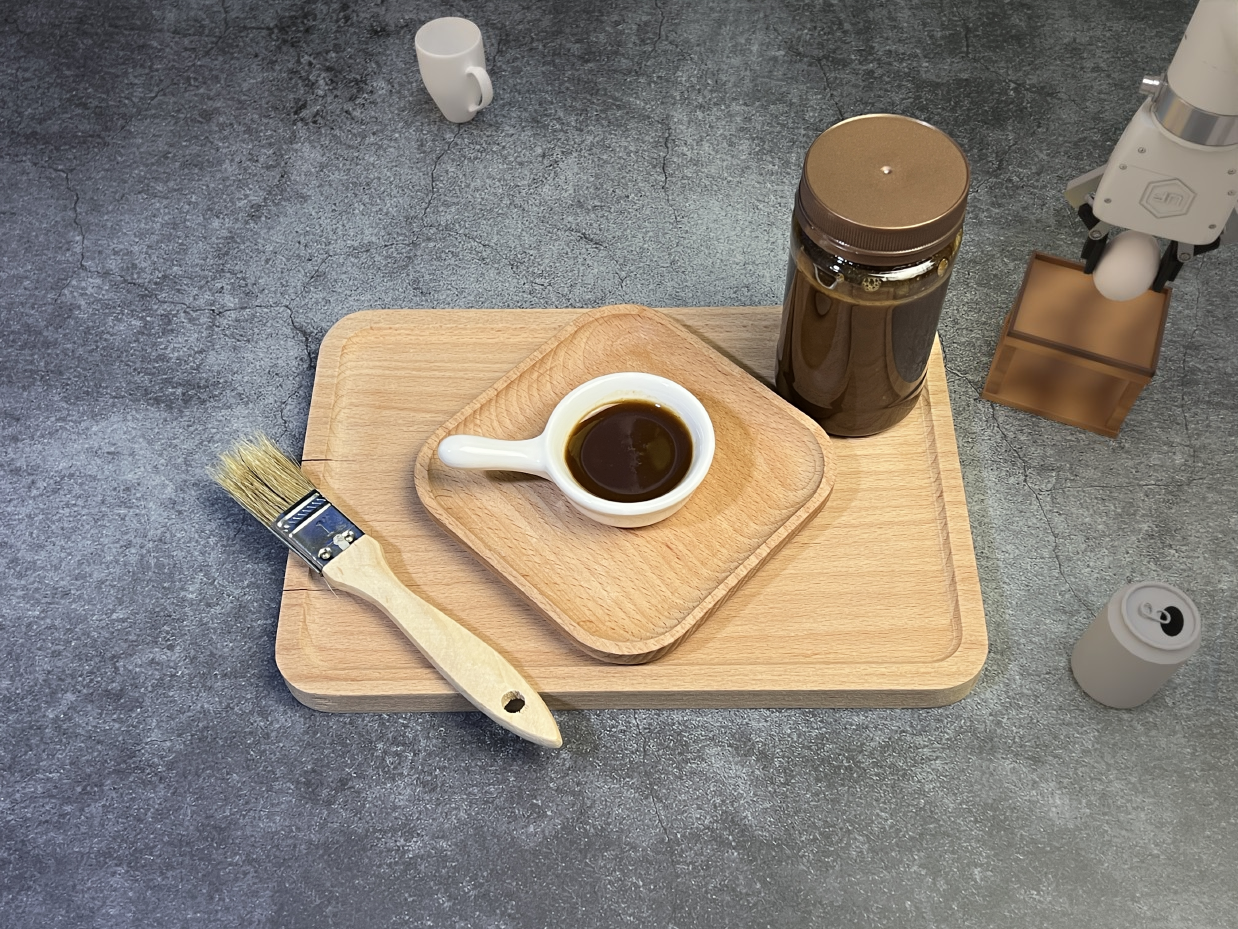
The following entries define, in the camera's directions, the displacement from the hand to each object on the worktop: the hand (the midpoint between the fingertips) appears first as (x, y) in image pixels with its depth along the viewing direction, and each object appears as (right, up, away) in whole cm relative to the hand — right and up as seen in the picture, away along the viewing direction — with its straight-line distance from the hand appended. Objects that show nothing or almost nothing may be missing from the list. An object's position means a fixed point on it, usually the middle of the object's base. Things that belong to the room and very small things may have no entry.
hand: (1124, 271), depth 99 cm
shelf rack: (+2, -8, +19) cm, 21 cm away
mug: (-65, +28, +46) cm, 84 cm away
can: (-1, -36, 0) cm, 36 cm away
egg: (0, -2, +3) cm, 3 cm away
